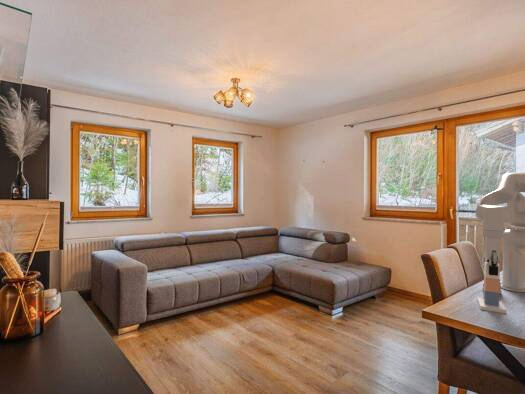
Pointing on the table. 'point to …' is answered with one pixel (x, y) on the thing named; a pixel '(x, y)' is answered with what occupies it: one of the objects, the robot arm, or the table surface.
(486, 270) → the cream brick
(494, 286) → the terracotta brick
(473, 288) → the table surface
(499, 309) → the tower base
